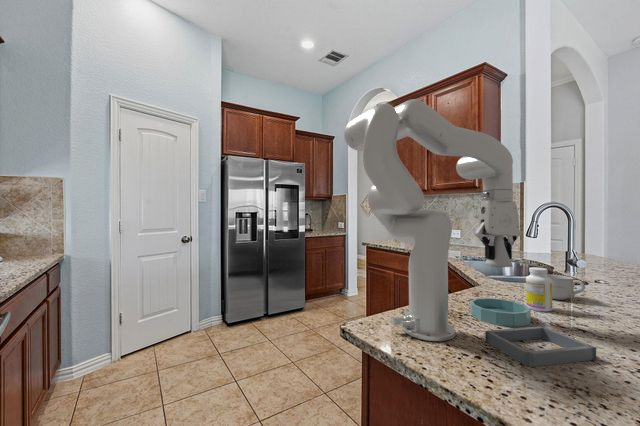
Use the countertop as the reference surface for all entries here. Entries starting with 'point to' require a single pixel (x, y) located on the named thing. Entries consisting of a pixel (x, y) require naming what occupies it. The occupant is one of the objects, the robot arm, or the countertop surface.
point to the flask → (499, 254)
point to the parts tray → (568, 354)
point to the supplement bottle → (538, 290)
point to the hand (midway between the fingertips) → (498, 258)
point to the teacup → (564, 286)
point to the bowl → (500, 312)
